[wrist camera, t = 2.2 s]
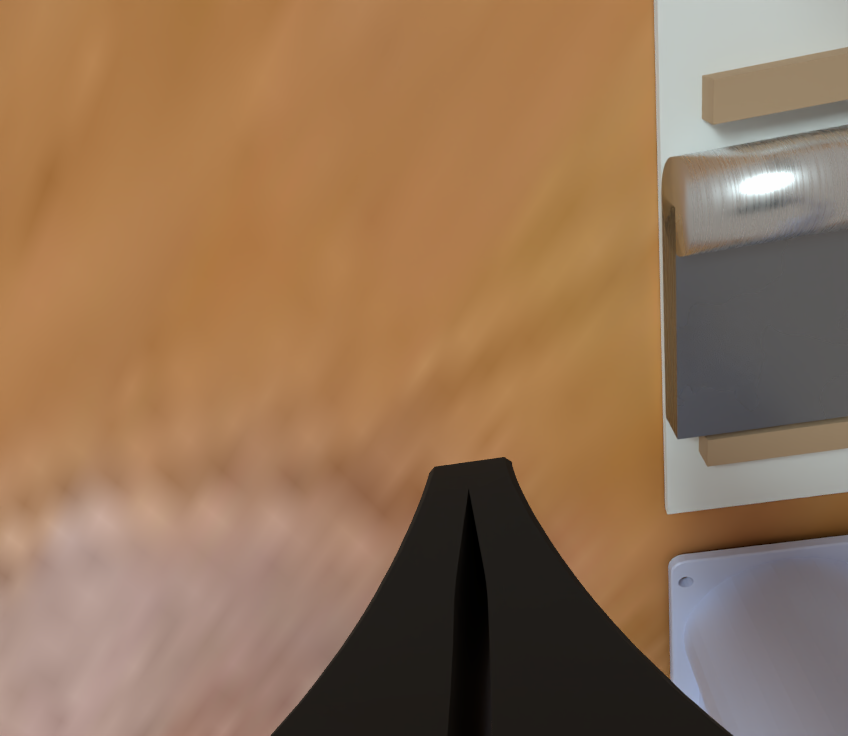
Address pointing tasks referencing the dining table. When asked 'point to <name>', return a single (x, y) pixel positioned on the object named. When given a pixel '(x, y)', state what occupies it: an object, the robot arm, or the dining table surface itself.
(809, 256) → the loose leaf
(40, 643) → the dining table surface
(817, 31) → the hinge jig
